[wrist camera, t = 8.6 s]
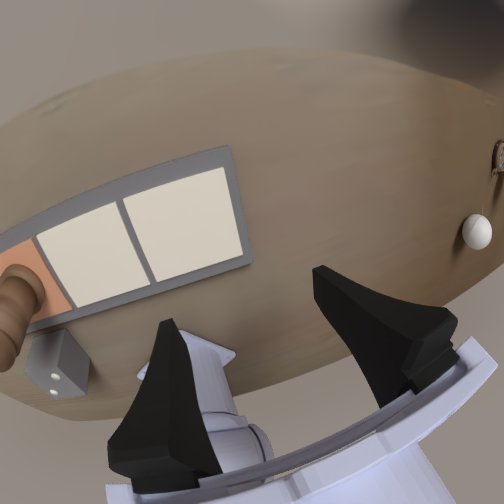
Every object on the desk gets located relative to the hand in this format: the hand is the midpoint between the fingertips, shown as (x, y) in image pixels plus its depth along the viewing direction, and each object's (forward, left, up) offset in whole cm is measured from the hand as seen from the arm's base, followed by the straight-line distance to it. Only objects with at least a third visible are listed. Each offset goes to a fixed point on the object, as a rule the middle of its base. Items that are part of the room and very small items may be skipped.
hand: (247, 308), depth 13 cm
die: (-21, +5, -10) cm, 24 cm away
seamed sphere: (+25, -31, -11) cm, 41 cm away
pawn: (-14, +11, -9) cm, 20 cm away
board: (-11, +8, -11) cm, 17 cm away
